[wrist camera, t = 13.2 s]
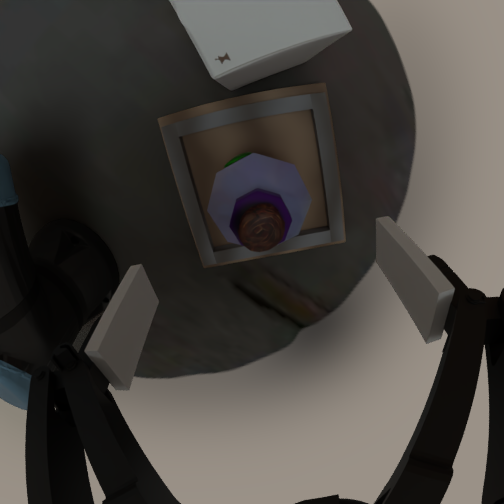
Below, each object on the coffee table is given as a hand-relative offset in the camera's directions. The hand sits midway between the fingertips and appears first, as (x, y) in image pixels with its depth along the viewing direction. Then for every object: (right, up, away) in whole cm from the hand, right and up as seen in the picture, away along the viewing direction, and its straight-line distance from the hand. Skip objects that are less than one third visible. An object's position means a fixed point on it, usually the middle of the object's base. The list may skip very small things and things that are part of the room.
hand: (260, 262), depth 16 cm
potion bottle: (0, +8, +14) cm, 16 cm away
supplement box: (0, +22, +8) cm, 24 cm away
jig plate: (0, +9, +16) cm, 18 cm away
